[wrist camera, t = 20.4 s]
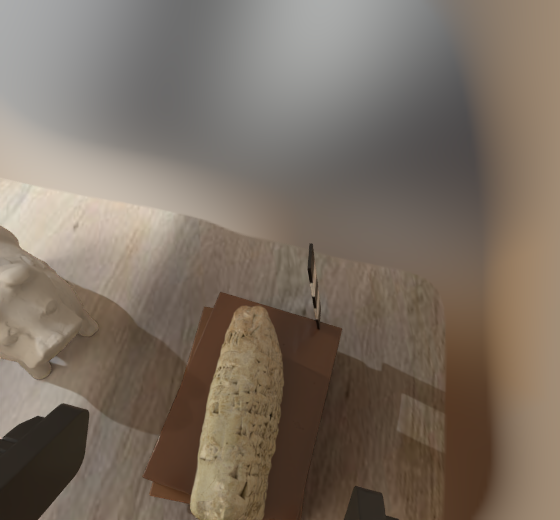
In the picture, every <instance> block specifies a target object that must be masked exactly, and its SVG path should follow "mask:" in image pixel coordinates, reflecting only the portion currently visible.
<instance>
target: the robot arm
mask: <svg viewBox="0 0 560 520" xmlns="http://www.w3.org/2000/svg"><path fill="white" fill-rule="evenodd" d="M88 422H89V411H88V410H86V409H82V408H79V407H75V406H72V405H68V404H64V403H63V404H60V405H59V406H58V407H57V408H55V409H54V410H53V411H52V412H51V413H50V414H48V415H47V416H46V417H45V418H44V417H40V416H37V417H34V418H32V419H30V420H28V421H25V422H23V423H21V424H19V425H17V426H16V427H15V428H14V429H12V430H11V431H10V432H9V433H7V434H6V435H5V436H4V437H3V439H0V520H38V519H39V518H40V517H41V515H42V514H43V513H44V512H45V511H46V510H47V508H48V507H49V506H50V505H51V504H52V502H53V501H54V500H55V499H56V498H57V497H58V495H59V494H60V493H61V492H62V491H63V489H64V488H65V487H66V486H67V485H68V484H69V482H70V481H71V480H72V479H73V478H74V476H75V475H76V474H77V472H78V470H79V468H80V466H81V464H82V462H83V459H84V455H85V448H86V439H87V431H88ZM344 520H399V519H396V518H393V517H389V516H386V515H385V508H384V501H383V495H382V493H380V492H376V491H372V490H369V489H365V488H362V487H358V486H355V487H354V489H353V492H352V495H351V498H350V502H349V505H348V508H347V512H346V515H345V518H344Z"/></svg>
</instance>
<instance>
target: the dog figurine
mask: <svg viewBox="0 0 560 520" xmlns="http://www.w3.org/2000/svg"><path fill="white" fill-rule="evenodd" d="M97 331H98V324H97V323H96V321H95V320H93V319H92V318H91V317H90V315H89V314H88V313H87V311H86V310H85V309H84V308H83V306H82V304H81V301H80V300H79V298H78V297H77V295H76V293H75V292H74V290H73V289H72V287H71V286H70V285H69V284H68V283H67V282H66V281H65V280H64V279H63V278H61V277H60V276H58V275H57V274H56V272H55V271H54V270H53V269H51V268H50V267H49V266H48V265H47V264H46V263H45V262H43V261H41V260H40V259H38V258H36V257H34V256H32V255H31V254H29V253H28V252H26V251H24V250H22V249H21V247H20V246H19V242H18V240H17V238H16V237H15V236H14V235H13V234H12V233H11V232H10V231H9V230H7V229H5V228H4V227H2V226H0V358H2V359H6V360H10V361H15V362H18V363H19V364H20V365H21V366H22V367H23V368H24V369H25V370H26V371H27V372H28V373H29V374H30V375H31V376H32V377H33V378H35V379H43V378H45V377H47V376H48V375H49V374H50V372H51V365H50V363H49V362H48V361H49V360H51V359H52V358H54V357H55V356H56V355H57V354H58V353H59V352H61V351H62V350H63V349H64V348H65V347H66V346H67V345H68V343H69V342H70V341H71V340H72V339H73V338H74V337H75V336H76V335H77V333H79V334H80V335H82V336H86V337H90V336H92V335H93V334H94V333H95V332H97Z"/></svg>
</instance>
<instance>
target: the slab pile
mask: <svg viewBox="0 0 560 520" xmlns="http://www.w3.org/2000/svg"><path fill="white" fill-rule="evenodd" d="M241 306H250V307H253V306H262V307H264V308H265V309H266V310H267V312H268V315H269V317H270V320H271V322H272V324H273V326H274V328H275V332H276V334H277V338H278V343H279V346H280V350H281V353H282V361H283V374H284V375H283V377H284V386H283V387H282V388H283V396H282V402H281V404H280V406H281V417H280V420H279V424H278V426H279V431H278V435H277V437H276V441H275V442H276V450H275V452H274V455H273V456H272V458H271V464H272V467H271V469H270V472H269V474H268V489H267V492H266V493H267V495H266V500H265V510H264V512H265V513H264V517H263V519H262V520H301V516H302V507H303V499H304V491H305V484H306V480H307V475H308V471H309V467H310V463H311V458H312V454H313V450H314V446H315V442H316V437H317V433H318V429H319V425H320V420H321V416H322V412H323V408H324V404H325V399H326V395H327V391H328V387H329V382H330V378H331V374H332V370H333V366H334V361H335V357H336V353H337V349H338V344H339V340H340V336H341V332H342V328H339V327H336V326H332V325H329V324H326V323H322V322H320V329H317V324H316V320H312V319H309V318H306V317H302V316H299V315H296V314H292V313H289V312H286V311H282V310H279V309H276V308H272V307H269V306H266V305H262V304H259V303H256V302H252V301H249V300H246V299H242V298H239V297H236V296H232V295H229V294H226V293H222V292H220V294H219V296H218V298H217V301H216V303H215V305H214V308H210V307H204V308H203V312H202V315H201V319H200V322H199V325H198V329H197V332H196V336H195V339H194V342H193V346H192V349H191V353H190V356H189V360H188V363H187V366H186V370H185V373H184V377H183V380H182V383H181V386H180V388H179V391H178V393H177V395H176V398H175V400H174V402H173V405H172V407H171V409H170V412H169V414H168V417H167V419H166V421H165V424H164V426H163V428H162V431H161V433H160V435H159V438H158V440H157V443H156V445H155V447H154V450H153V452H152V454H151V457H150V459H149V462H148V464H147V466H146V469H145V471H144V473H143V476H142V477H143V478H145V479H148V480H151V481H153V483H152V486H151V490H150V493H149V495H150V496H154V497H159V498H164V499H169V500H174V501H179V502H184V503H189V504H190V499H191V493H192V488H193V484H194V479H195V474H196V469H197V462H198V452H199V445H200V436H201V433H202V426H203V422H204V418H205V413H206V405H207V399H208V395H209V392H210V385H211V383H212V381H213V377H214V374H215V371H216V367H217V363H218V360H219V357H220V351H221V348H222V345H223V344H224V340H225V334H226V332H227V329H228V328H229V326H230V323H231V321H232V318H233V314H234V312H235V311H236V310H237V309H238V308H239V307H241Z"/></svg>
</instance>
